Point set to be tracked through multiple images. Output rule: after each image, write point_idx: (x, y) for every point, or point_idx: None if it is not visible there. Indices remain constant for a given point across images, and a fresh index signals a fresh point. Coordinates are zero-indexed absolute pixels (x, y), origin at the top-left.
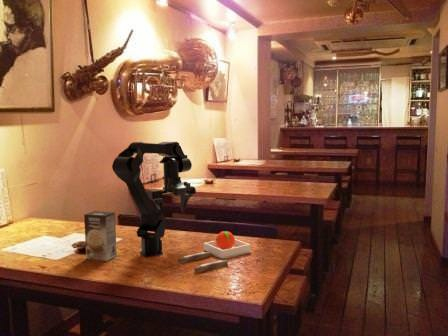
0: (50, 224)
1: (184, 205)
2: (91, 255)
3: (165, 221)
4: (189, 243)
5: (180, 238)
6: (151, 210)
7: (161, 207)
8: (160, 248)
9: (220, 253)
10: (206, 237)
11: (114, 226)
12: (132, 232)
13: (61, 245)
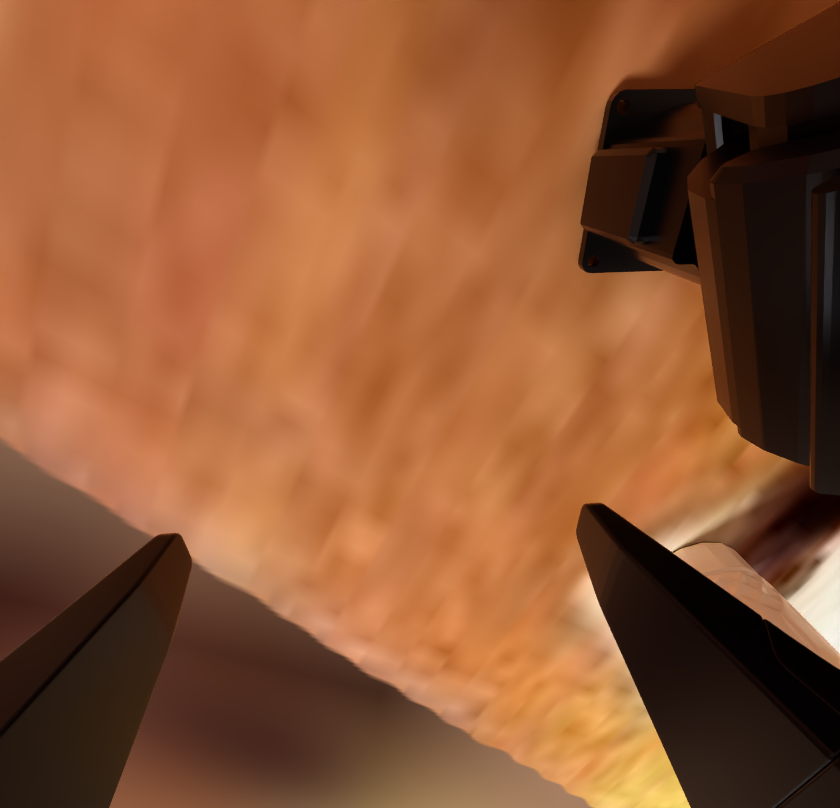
0: (648, 790)
1: (53, 660)
2: None
3: (768, 160)
4: (254, 272)
5: (277, 437)
6: None
7: (739, 627)
8: (629, 140)
9: None
10: (48, 353)
11: None
12: (477, 644)
13: (825, 603)
